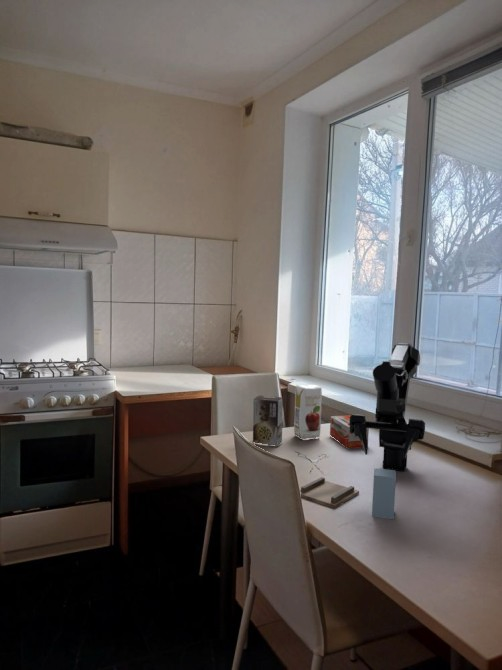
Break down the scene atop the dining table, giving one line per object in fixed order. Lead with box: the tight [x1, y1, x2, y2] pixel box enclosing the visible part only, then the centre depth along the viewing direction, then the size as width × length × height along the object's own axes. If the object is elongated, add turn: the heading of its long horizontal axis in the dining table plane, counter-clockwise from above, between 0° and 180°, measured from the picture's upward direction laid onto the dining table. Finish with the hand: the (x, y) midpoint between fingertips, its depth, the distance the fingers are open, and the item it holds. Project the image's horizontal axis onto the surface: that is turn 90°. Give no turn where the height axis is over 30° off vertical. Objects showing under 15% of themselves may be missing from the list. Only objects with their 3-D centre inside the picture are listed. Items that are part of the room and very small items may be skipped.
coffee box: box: [252, 395, 284, 447], centre depth 174 cm, size 9×6×16 cm
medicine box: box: [329, 414, 370, 449], centre depth 179 cm, size 15×8×8 cm, turn 15°
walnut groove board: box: [300, 476, 360, 509], centre depth 132 cm, size 12×12×2 cm
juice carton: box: [293, 384, 323, 439], centre depth 182 cm, size 8×9×19 cm
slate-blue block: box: [371, 467, 397, 520], centre depth 121 cm, size 5×5×10 cm
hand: (385, 455), depth 126 cm, fingers open, 9 cm apart
